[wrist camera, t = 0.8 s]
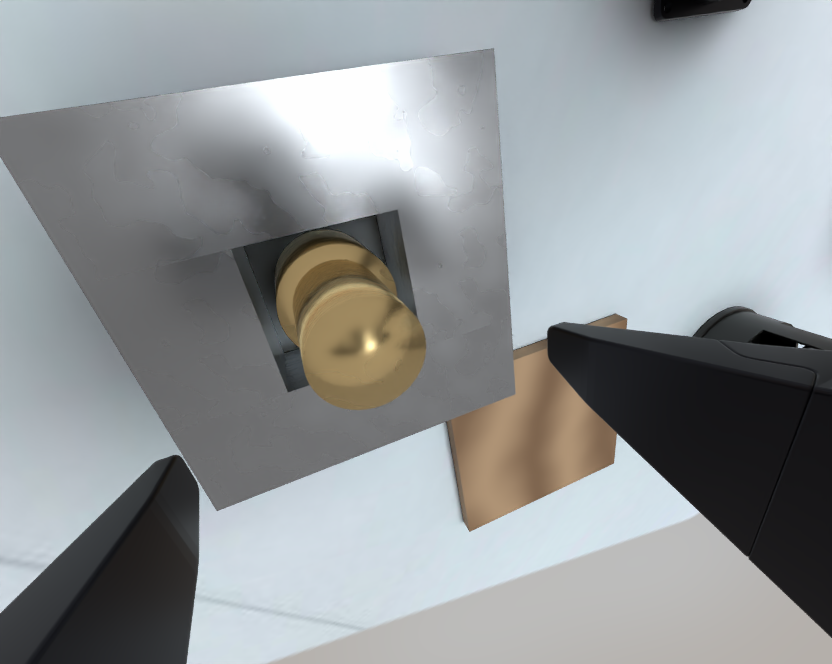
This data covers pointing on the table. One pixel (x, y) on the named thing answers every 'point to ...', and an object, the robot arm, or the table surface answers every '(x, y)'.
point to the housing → (272, 218)
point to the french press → (759, 330)
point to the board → (528, 439)
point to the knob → (347, 321)
